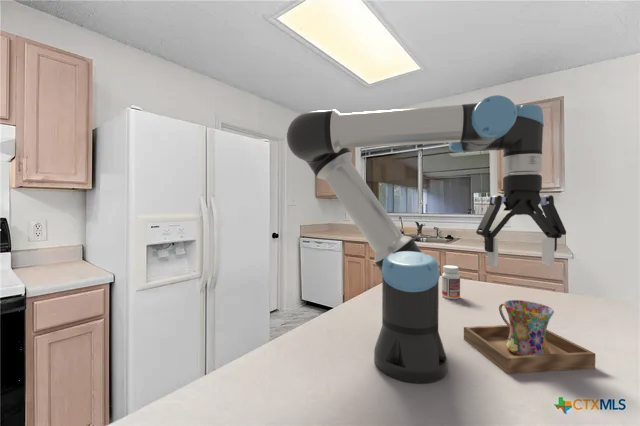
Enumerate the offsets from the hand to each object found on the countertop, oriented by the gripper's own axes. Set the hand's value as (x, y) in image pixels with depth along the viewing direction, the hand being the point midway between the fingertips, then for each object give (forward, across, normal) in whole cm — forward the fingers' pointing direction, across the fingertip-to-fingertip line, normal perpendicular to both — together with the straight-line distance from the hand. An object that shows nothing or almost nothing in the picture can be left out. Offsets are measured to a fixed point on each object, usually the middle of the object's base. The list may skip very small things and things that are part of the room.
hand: (520, 265), depth 70 cm
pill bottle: (+20, +4, +40) cm, 45 cm away
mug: (+20, 0, -1) cm, 20 cm away
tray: (+20, 0, -1) cm, 20 cm away
